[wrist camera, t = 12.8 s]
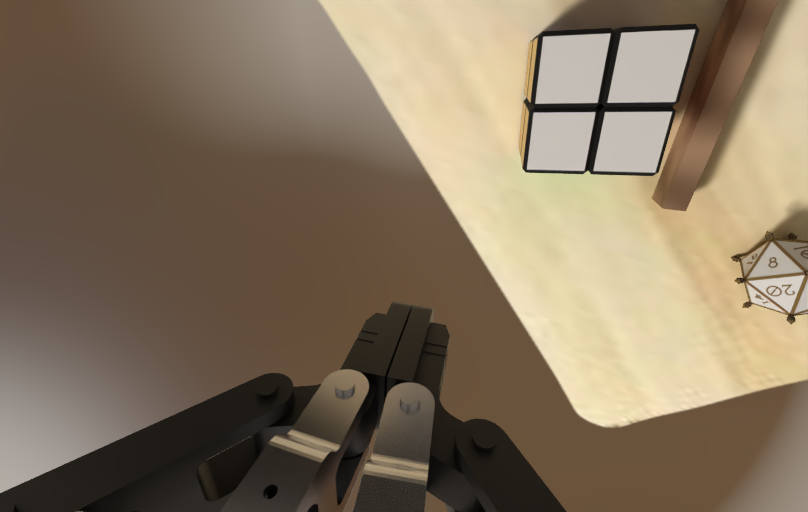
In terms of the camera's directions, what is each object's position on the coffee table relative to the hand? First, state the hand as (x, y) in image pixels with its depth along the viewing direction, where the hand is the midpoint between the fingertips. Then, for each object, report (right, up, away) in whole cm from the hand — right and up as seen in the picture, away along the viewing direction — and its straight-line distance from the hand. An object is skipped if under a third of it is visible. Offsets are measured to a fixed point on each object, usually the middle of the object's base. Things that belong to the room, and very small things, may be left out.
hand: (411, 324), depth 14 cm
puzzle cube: (+16, +18, +22) cm, 33 cm away
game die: (+37, +2, +25) cm, 45 cm away
